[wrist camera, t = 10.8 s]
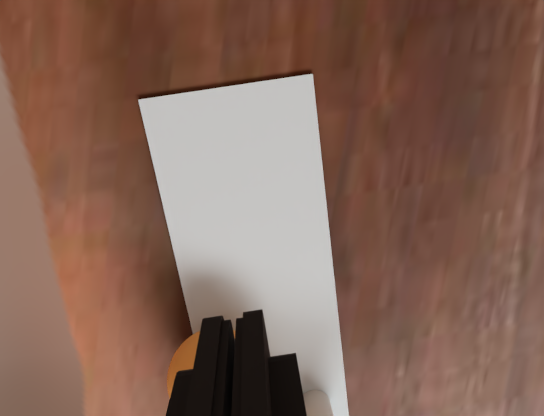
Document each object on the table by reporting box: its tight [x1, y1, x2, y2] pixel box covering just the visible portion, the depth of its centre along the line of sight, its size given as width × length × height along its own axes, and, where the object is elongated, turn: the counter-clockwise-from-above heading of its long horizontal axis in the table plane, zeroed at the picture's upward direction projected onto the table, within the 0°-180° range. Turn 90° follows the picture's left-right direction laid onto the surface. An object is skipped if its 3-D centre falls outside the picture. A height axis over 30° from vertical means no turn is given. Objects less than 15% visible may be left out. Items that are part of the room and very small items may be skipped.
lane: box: [138, 74, 349, 416], centre depth 29 cm, size 32×10×1 cm, turn 8°
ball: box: [167, 330, 235, 398], centre depth 26 cm, size 6×6×6 cm
